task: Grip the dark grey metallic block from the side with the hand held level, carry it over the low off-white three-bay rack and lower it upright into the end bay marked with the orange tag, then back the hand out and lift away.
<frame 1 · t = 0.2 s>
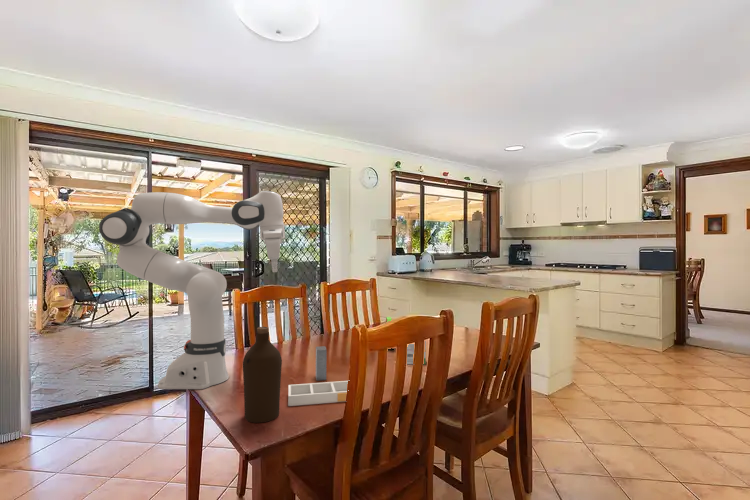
hand: (275, 271, 140), 39 cm above the table, tool pointing down, fingers open, 8 cm apart
rack: (322, 397, 121), on the table
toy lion: (388, 348, 181), on the table
olive oil: (262, 416, 107), on the table
dark grey metallic block: (320, 378, 138), on the table
ink box: (414, 363, 158), on the table
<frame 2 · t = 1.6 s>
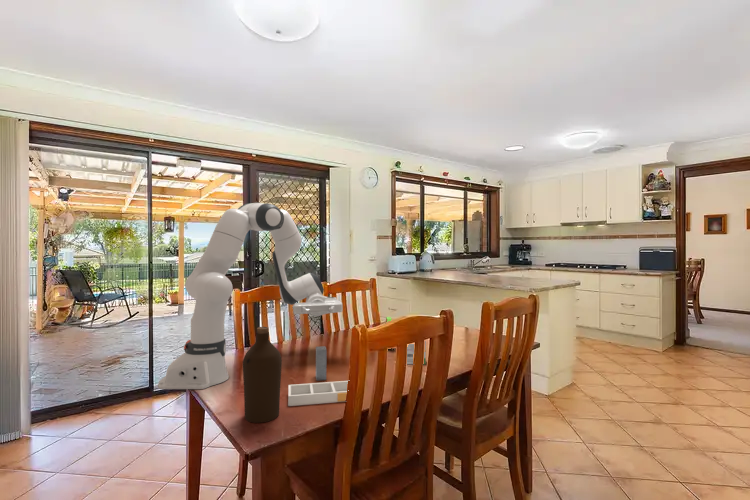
hand: (319, 311, 150), 23 cm above the table, tool horizontal, fingers open, 8 cm apart
nothing on the table moved.
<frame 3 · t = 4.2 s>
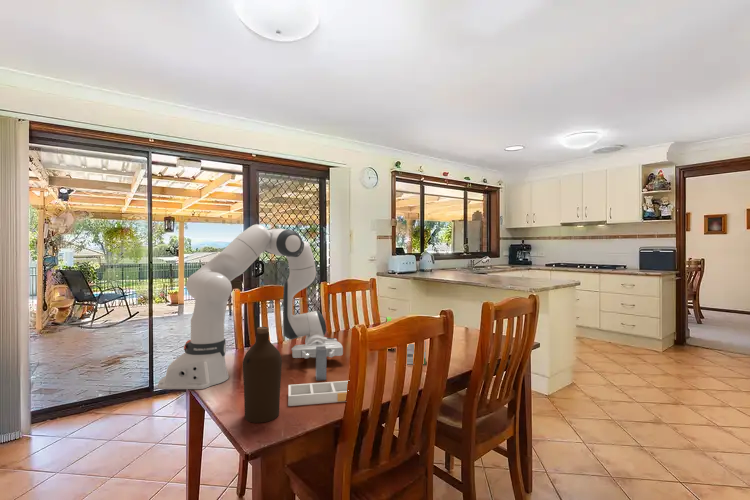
hand: (319, 355, 146), 6 cm above the table, tool horizontal, fingers open, 8 cm apart
nothing on the table moved.
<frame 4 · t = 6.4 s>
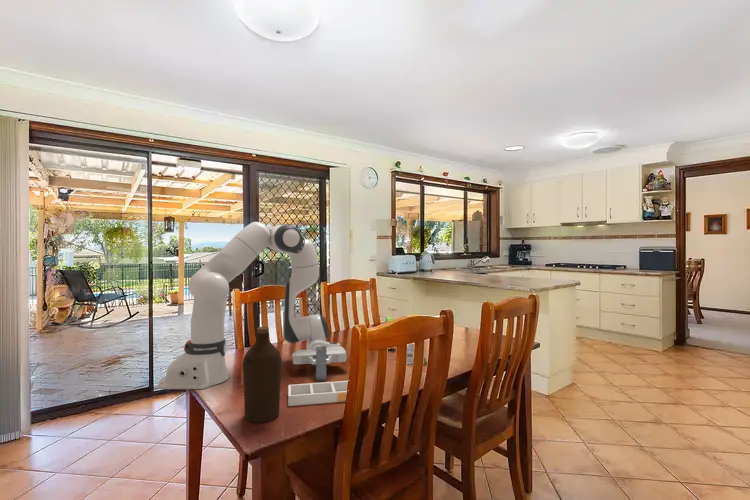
hand: (321, 362, 137), 6 cm above the table, tool horizontal, fingers closed on dark grey metallic block, 3 cm apart
dark grey metallic block: (320, 378, 138), on the table, touching gripper
everything else where it was.
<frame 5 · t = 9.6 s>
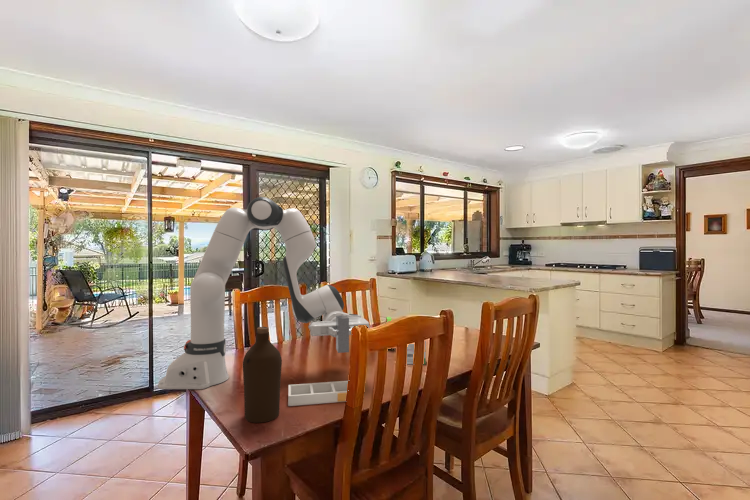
hand: (342, 332, 123), 20 cm above the table, tool horizontal, fingers closed on dark grey metallic block, 3 cm apart
dark grey metallic block: (342, 350, 124), point 14 cm above the table, touching gripper
everything else where it was.
when the fingers open (7 cm above the table, at t = 13.1 s): dark grey metallic block drops 1 cm, resting in rack.
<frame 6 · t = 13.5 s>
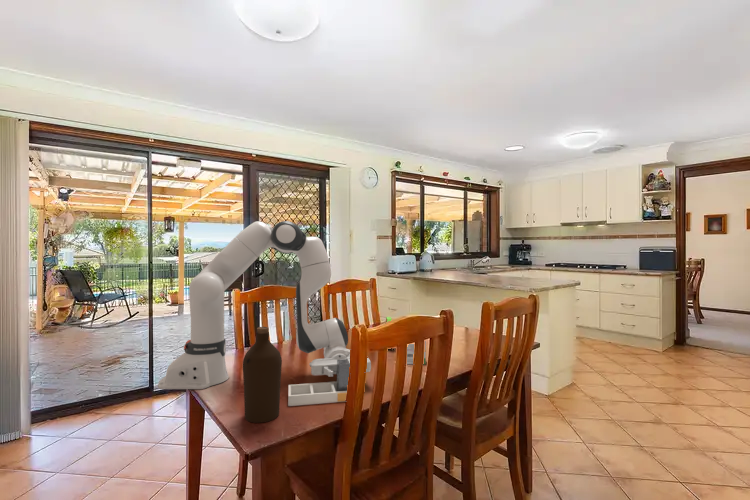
hand: (344, 373, 121), 7 cm above the table, tool horizontal, fingers open, 7 cm apart
dark grey metallic block: (343, 395, 122), resting in rack
everything else where it was.
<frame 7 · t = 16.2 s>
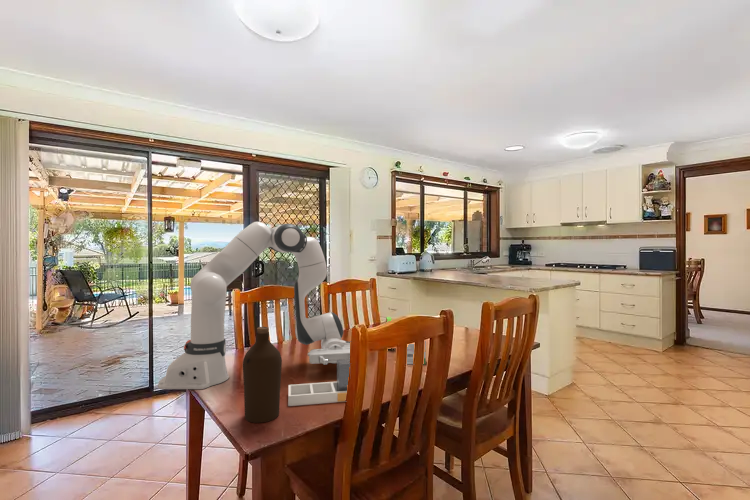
hand: (338, 361, 134), 8 cm above the table, tool horizontal, fingers open, 8 cm apart
nothing on the table moved.
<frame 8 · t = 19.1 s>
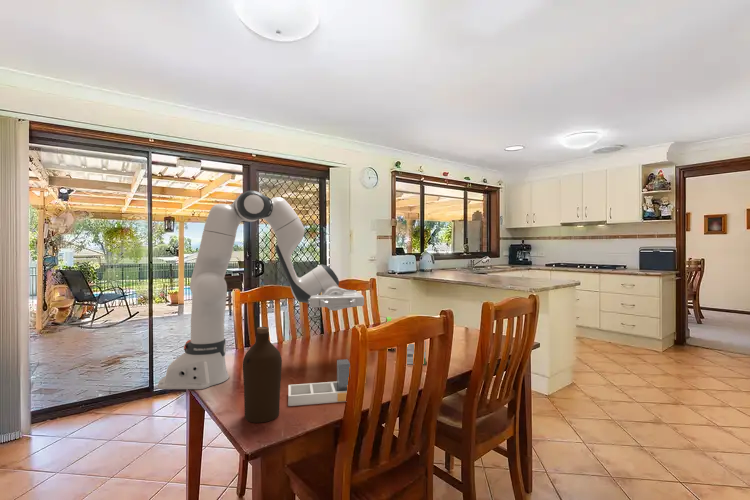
hand: (339, 303, 134), 28 cm above the table, tool horizontal, fingers open, 8 cm apart
nothing on the table moved.
at the end: dark grey metallic block 0.1 cm from the target spot on the rack, point 0.0 cm above the rack's base; dark grey metallic block tilted 0°; the gripper is holding nothing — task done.
